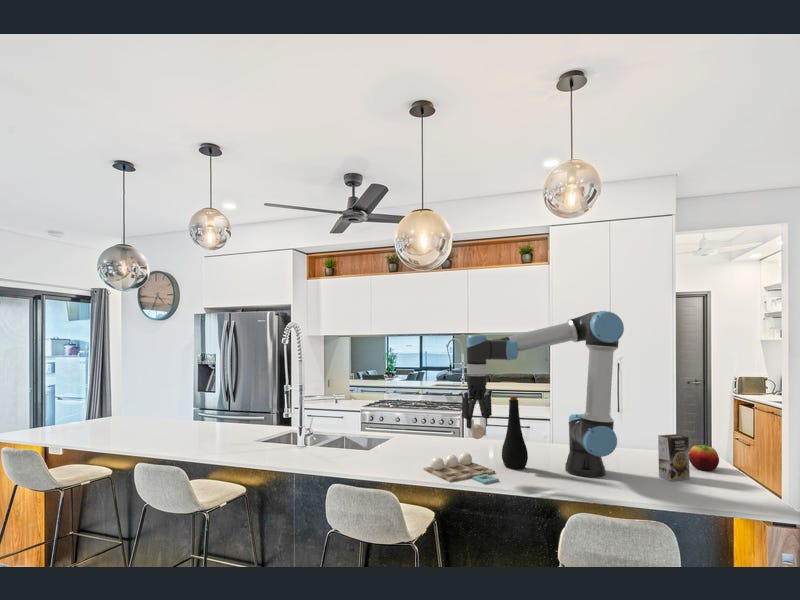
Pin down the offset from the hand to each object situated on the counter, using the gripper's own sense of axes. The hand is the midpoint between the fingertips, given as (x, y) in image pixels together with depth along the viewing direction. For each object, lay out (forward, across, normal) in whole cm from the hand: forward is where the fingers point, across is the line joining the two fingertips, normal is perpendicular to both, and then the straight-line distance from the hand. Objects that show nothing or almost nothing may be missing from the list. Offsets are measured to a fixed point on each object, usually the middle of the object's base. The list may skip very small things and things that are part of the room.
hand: (477, 435), depth 190 cm
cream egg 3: (+16, -6, -15) cm, 23 cm away
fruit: (+17, -89, +36) cm, 98 cm away
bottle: (+17, -23, -4) cm, 29 cm away
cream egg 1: (+16, +8, -16) cm, 24 cm away
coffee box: (+17, -67, +37) cm, 79 cm away
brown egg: (+1, 0, 0) cm, 1 cm away
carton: (+17, +1, -11) cm, 20 cm away
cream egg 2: (+16, 0, -16) cm, 22 cm away
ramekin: (+17, -1, +4) cm, 17 cm away
